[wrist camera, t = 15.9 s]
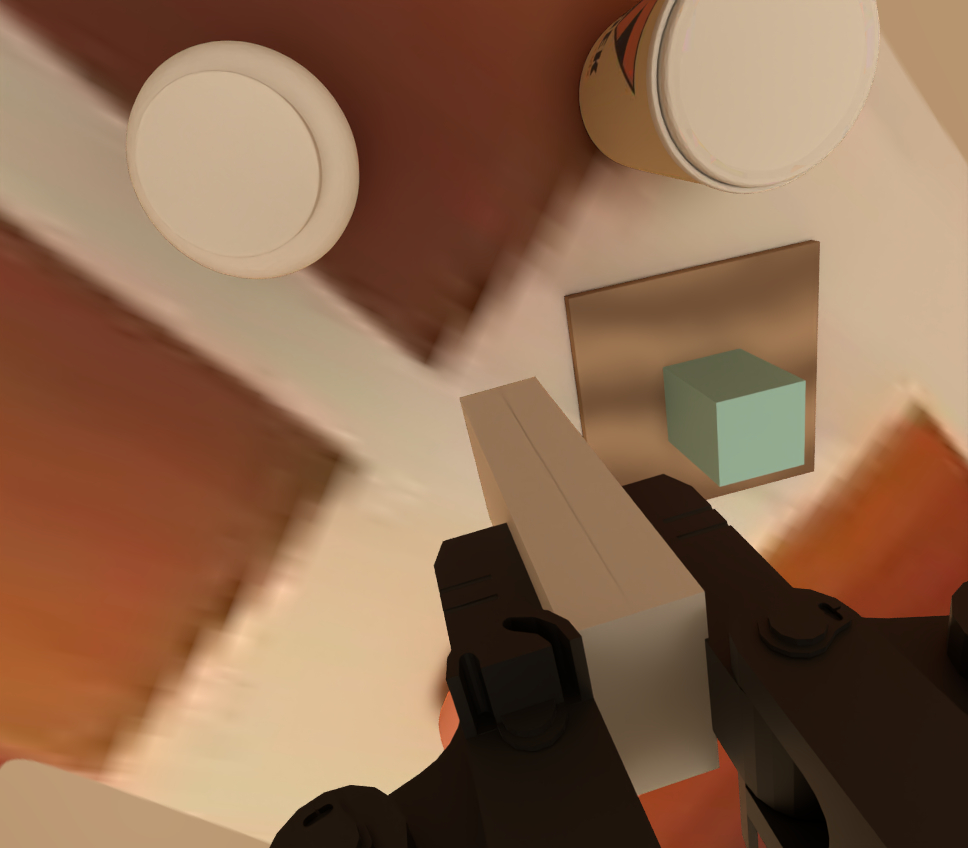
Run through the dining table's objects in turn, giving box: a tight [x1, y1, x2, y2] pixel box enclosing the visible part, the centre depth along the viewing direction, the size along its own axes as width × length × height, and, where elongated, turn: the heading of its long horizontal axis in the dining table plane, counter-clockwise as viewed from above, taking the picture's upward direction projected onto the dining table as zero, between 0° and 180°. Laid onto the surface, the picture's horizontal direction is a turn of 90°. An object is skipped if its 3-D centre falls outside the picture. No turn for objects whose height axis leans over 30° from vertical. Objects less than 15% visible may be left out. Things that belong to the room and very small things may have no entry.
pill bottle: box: [126, 41, 359, 279], centre depth 27 cm, size 8×8×14 cm
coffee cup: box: [579, 0, 880, 194], centre depth 30 cm, size 9×9×12 cm
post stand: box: [564, 240, 820, 500], centre depth 40 cm, size 16×16×6 cm
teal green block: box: [663, 349, 806, 487], centre depth 39 cm, size 5×5×7 cm
